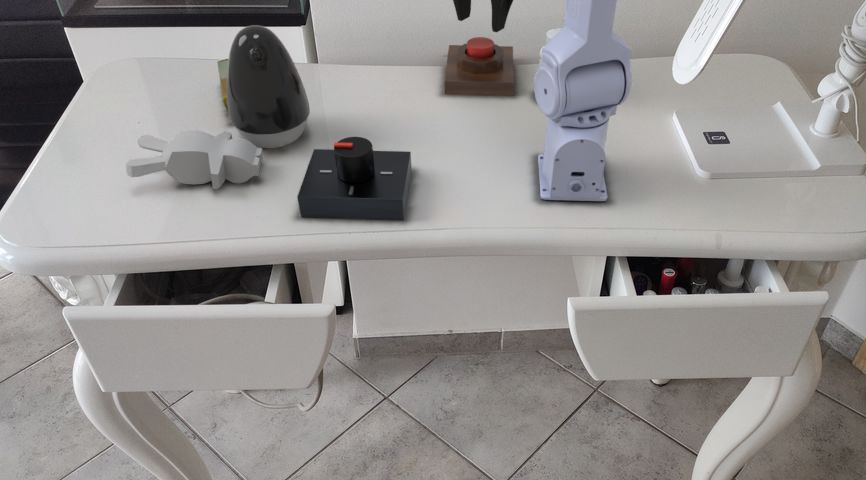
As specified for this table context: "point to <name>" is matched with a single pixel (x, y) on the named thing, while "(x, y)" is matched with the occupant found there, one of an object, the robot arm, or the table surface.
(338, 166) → the dial
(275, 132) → the black glossy egg shape
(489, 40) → the button
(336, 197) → the dial panel
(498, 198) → the table surface
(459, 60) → the button box
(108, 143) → the table surface
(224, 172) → the bunny figurine
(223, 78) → the medication box
